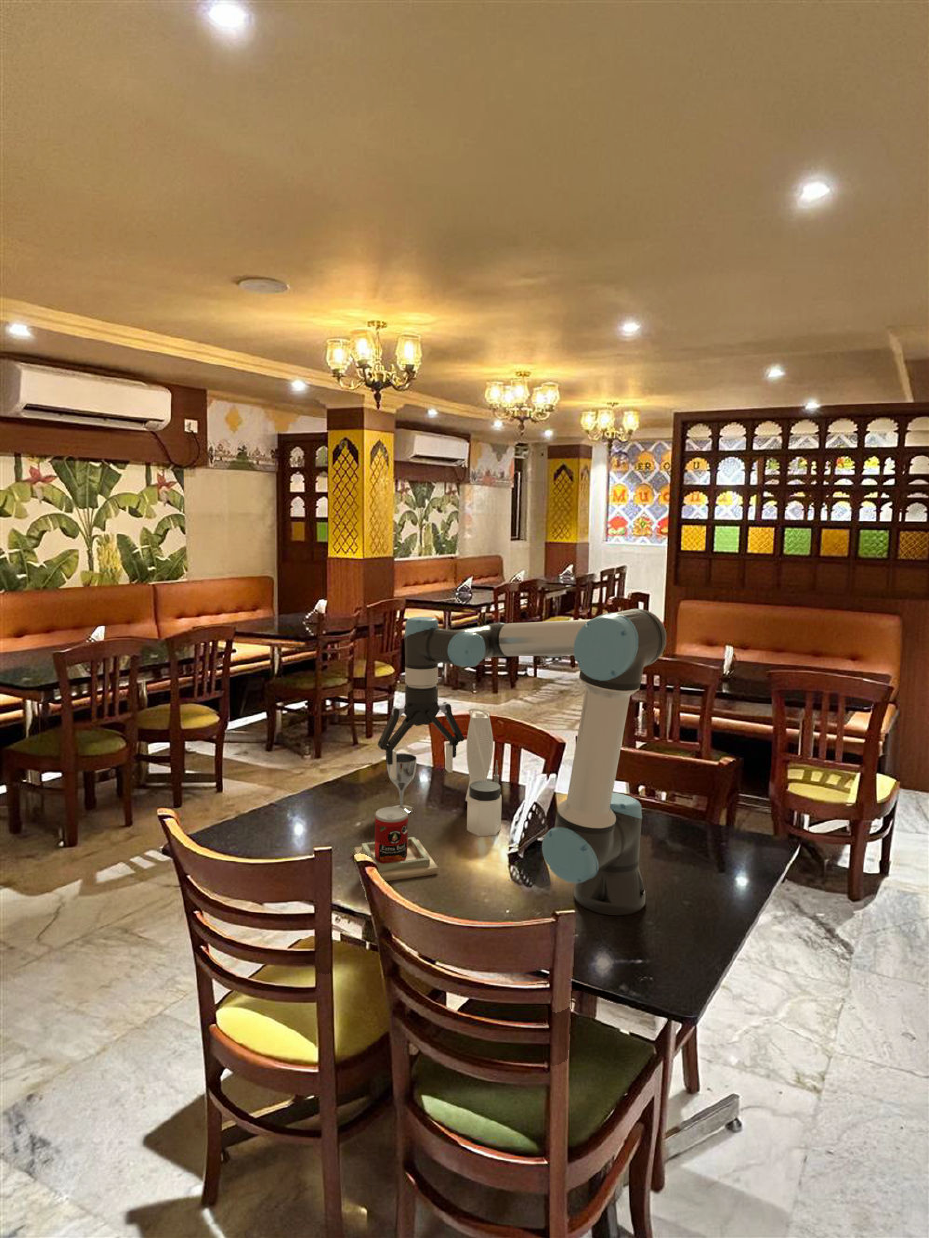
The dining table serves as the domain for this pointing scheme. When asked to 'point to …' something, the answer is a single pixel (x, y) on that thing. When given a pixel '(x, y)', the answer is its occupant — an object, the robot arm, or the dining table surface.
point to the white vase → (479, 747)
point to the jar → (484, 808)
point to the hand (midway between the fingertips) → (421, 774)
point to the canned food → (391, 834)
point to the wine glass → (403, 775)
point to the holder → (410, 867)
